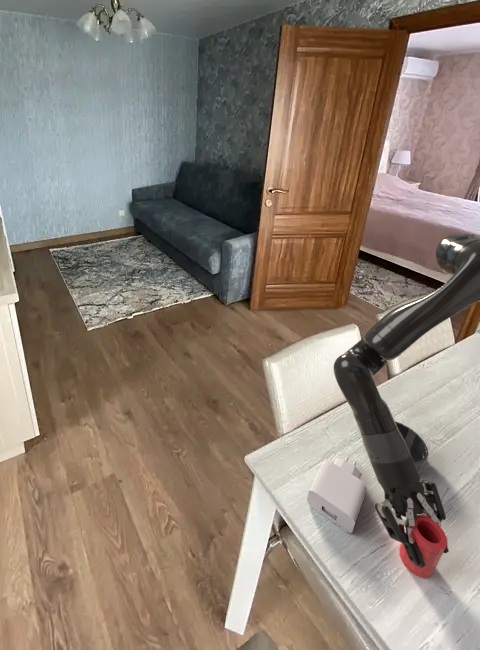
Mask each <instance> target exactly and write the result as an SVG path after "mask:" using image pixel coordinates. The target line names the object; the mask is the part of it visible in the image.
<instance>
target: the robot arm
mask: <svg viewBox="0 0 480 650" xmlns="http://www.w3.org/2000/svg"><path fill="white" fill-rule="evenodd" d="M435 259H436V260H435V261H436V263H437V265H438V267H439V268H440V269H441V271H442V272H444V273H445V274H446V275H447V276H449V277H450V278H449V279H448V280H447V281H446V282H445V283H444V284H442V285H441V286H440V287H438V288H437V289H435V290H434V291H432V292H430V293H428V294H426V295H424V296H421V297H419V298H417V299H415V300H411V301H408V302H406V303H403V304H401V305H399V306H397V307H394V309H392V310H390V311H388V313H386V314H385V315H383V317H381V318H380V319H379V320H378V321H377V322H376V323H375V324H374V325H373V326H372V327H370V329H368V331H367V332H366V333H365V334H364V336H363V338H361V339H360V340H359V341H357V342H356V343H355V344H354V345H352V346H351V347H350V348H349V349H348V350H346V351H345V352H344V353H342V354H340V355H339V356H338V357H337V358H336V359H335V361H334V363H333V367H332V368H333V375H334V377H335V380H336V383H337V386H338V387H339V389H340V391H341V394H342V395H343V397H344V400H346V402H347V404H348V405H349V407H350V409H351V412H352V415H353V418H354V421H355V423H356V426H357V428H358V431H359V433H360V436H361V439H362V443H363V446H364V450H365V452H366V454H367V458H368V459H369V461H370V464H371V467H372V469H373V473H374V474H375V477H376V479H377V482H378V484H379V485H380V487H381V488H382V490H383V493H384V500H383V501H382V502H381V503H378V502H375V503H374V509H375V512H376V513H377V514H378V517H379V519H380V520H381V522H382V525H383V526H384V528H385V530H386V532H387V534H388V536H389V537H390V539H392V540H393V541H397V542H399V543H400V544H401V543H403V545H404V547H405V550H406V552H407V555H408V557H409V560H410V561H411V562H412V563H413V564H414V565H416V566H418V567H420V568H423V567H425V563H424V560H423V558H422V555H421V553H420V550H419V548H418V545H417V543H416V542H415V539H414V533H413V528H414V527H415V523H414V518H415V517H416V516H417V515H423V516H426V517H428V518H430V519H432V520H433V521H435V522H436V523H437V524H438V525H439V526H440V527H441V528H442V521H446V520H447V516H446V513H445V509H444V506H443V503H442V499H441V497H440V493H439V490H438V487H437V484H436V483H435V482H434V481H429V480H424V479H421V475H420V474H419V472H418V470H417V468H416V466H415V463H414V461H413V459H412V456H411V454H410V452H409V449H408V447H407V445H406V442H405V440H404V438H403V436H402V435H401V433H400V431H399V429H398V427H397V425H396V423H395V421H396V420H395V419H394V418H395V417H394V415H393V414H392V411H391V409H390V407H389V405H388V403H387V402H386V400H385V399H384V398H382V396H381V394H380V392H379V389H378V387H377V384H376V382H375V380H374V377H375V376H376V375H377V374H378V373H379V372H381V370H382V369H383V368H385V366H386V365H388V364H389V363H390V362H391V361H394V360H395V359H397V358H398V357H399V356H401V355H402V354H403V353H405V351H407V350H408V349H409V348H411V347H412V346H413V345H414V344H415V343H417V341H419V339H421V338H422V337H423V336H425V335H426V334H427V333H428V332H430V331H431V330H433V329H434V328H436V327H437V326H439V325H440V324H442V323H443V322H445V321H447V320H448V319H450V318H452V317H453V316H455V315H457V314H459V313H461V312H462V311H464V310H465V309H467V308H469V307H470V306H472V305H474V304H475V303H476V302H479V303H480V235H479V234H476V233H469V232H457V233H451V234H449V235H447V236H446V237H444V238H442V239H441V240H440V241H439V243H438V245H437V246H436V249H435ZM403 517H404V518H403ZM448 547H449V546H448V544H447V546H446V548H445V550H444V552H443V554H448V553H449V551H450V550H449V548H448Z"/></svg>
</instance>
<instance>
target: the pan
mask: <svg viewBox="0 0 480 650" xmlns="http://www.w3.org/2000/svg"><path fill="white" fill-rule="evenodd" d="M395 423H396V425H397V427H398V429H399V431H400V433H401V435H402V436H403V438H404V440H405V442H406V445H407V447H408V449H409V452H410V454H411V456H412V459H413V461H414V463H415V466H416V468H417V470H418V472H419V475H420V474H421V473H422V472H423V470H424V467H425V465H426V463H427V460H428V458H429V455H430V454H429V449H428V445H427V444H426V442H425V441H424V439H423V438H422V437H421V436H420V435H419V434H418V433H417V431H414V430H413V429H412V428H411V427H409V426H407V425H405V424H403V423H402V422H399V421H396V420H395Z"/></svg>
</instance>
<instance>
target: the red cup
mask: <svg viewBox="0 0 480 650" xmlns="http://www.w3.org/2000/svg"><path fill="white" fill-rule="evenodd" d="M414 523H415V527H414V528H413V533H414V539H415V542H416V543H417V545H418V548H419V550H420V553H421V555H422V558H423V560H424V563H425V567H423V568H420V567H418V566H416V565H414V564H413V563H412V562H411V561H410V560H409V557H408V555H407V552H406V550H405V547H404V545H403V543H401V542H400V545H399V549H398V553H399V557H400V559H401V562H402V563H403V565H404V567H406V569H407V570H408V571H410V573H411V574H413V575H415V576H416V577H419V578H422V579H428V578H431V576H432V575H433V574H434V572H435V569H436V568H437V566H438V564H439V561H440V560H441V558H442V556H443V554H444V553H443V552H444V550H445V548H446V546H447V545H448V537H447V535H446V532H445V531H444V529H443V528H442V526H441V527H440V526H439V525H438V524H437V523H436V522H435V521H433V520H432V519H430V518H428V517H426V516H423V515H419V514H418V515H417V516H416V517H415V518H414Z"/></svg>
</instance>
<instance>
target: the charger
mask: <svg viewBox="0 0 480 650" xmlns="http://www.w3.org/2000/svg"><path fill="white" fill-rule="evenodd" d="M349 458H350V457H349V456H346V457H345V458H344V459H342V458H339V457H337V458H335V460H334V461H330V460H323V462H322V464H321V466H320V468H319V470H318V472H317V474H316V476H315V478H314V480H313V482H312V483H311V486H310V487H309V489H308V494H307V497H306V502H307V504H308V505H309V506H310V507H311V508H312V509H314V510H315V511H317V512H318V513H319V514H321V515H322V516H323V517H325V518H326V519H328V520H329V521H331V522H332V523H333V524H335V525H336V526H338V527H339V528H340V529H342V530H343V531H345V532H346V533H349V534H353V531H354V528H355V525H356V522H357V519H358V516H359V514H360V511H361V508H362V505H363V502H364V499H365V496H366V493H367V490H368V488H367V486H366V485H365V483H364V481H363V480H362V479H361V478H362V475H363V474H362V472H361V470H359V469H358V467H356V465H357V461H356V460H353V462H352V463H351V462H349V461H348V460H349Z"/></svg>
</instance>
